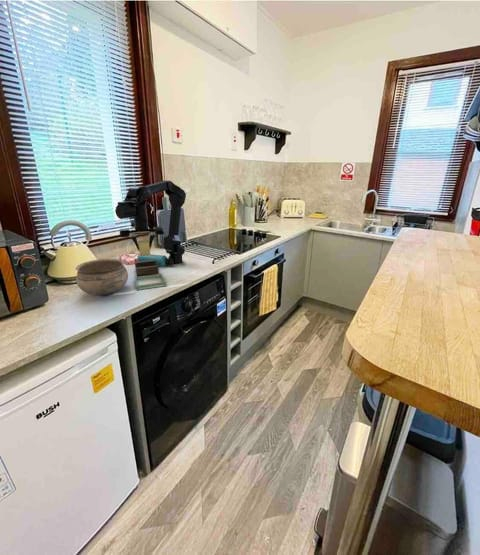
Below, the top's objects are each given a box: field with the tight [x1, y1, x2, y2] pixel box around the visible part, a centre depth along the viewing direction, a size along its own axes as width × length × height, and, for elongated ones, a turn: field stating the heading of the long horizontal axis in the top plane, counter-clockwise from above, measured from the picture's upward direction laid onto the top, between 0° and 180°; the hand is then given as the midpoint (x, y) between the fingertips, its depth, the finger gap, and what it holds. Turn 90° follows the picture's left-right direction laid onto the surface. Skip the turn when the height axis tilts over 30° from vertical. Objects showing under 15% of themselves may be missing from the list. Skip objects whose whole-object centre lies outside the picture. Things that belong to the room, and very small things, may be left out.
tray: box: [134, 273, 167, 292], centre depth 122 cm, size 12×11×2 cm
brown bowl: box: [75, 258, 129, 297], centre depth 111 cm, size 25×19×12 cm
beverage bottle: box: [136, 253, 174, 268], centre depth 144 cm, size 6×7×20 cm
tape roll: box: [137, 239, 151, 256], centre depth 126 cm, size 7×5×7 cm, turn 22°
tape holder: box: [134, 260, 160, 277], centre depth 134 cm, size 14×10×5 cm
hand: (144, 249), depth 127 cm, fingers closed on tape roll, 4 cm apart
